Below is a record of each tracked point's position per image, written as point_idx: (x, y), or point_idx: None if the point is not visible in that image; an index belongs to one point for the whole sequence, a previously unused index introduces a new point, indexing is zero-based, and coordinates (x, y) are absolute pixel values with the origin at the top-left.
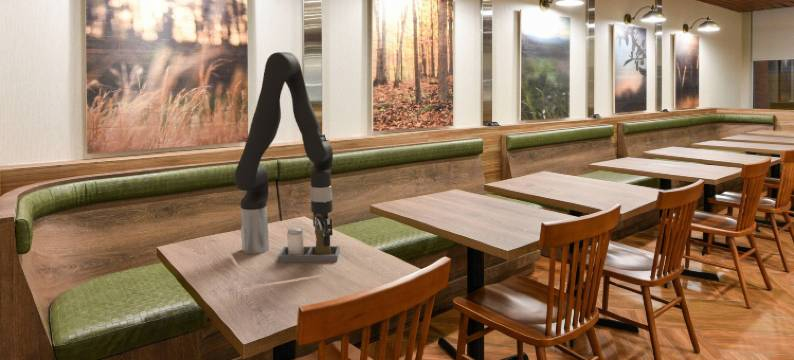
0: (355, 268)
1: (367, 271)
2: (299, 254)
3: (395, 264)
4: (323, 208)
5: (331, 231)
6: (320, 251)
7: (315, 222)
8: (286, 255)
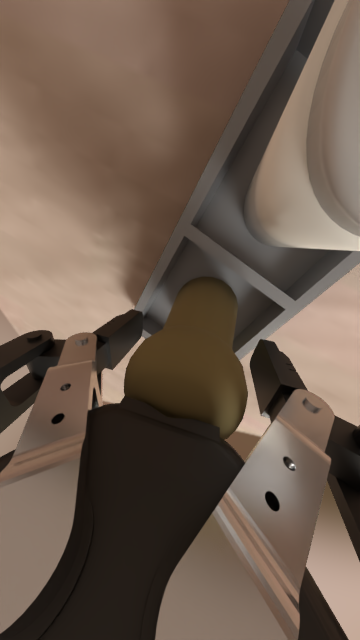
0: (91, 327)
1: (67, 335)
2: (247, 198)
3: None
4: None
5: (18, 383)
6: (179, 296)
7: (283, 477)
8: (274, 60)
